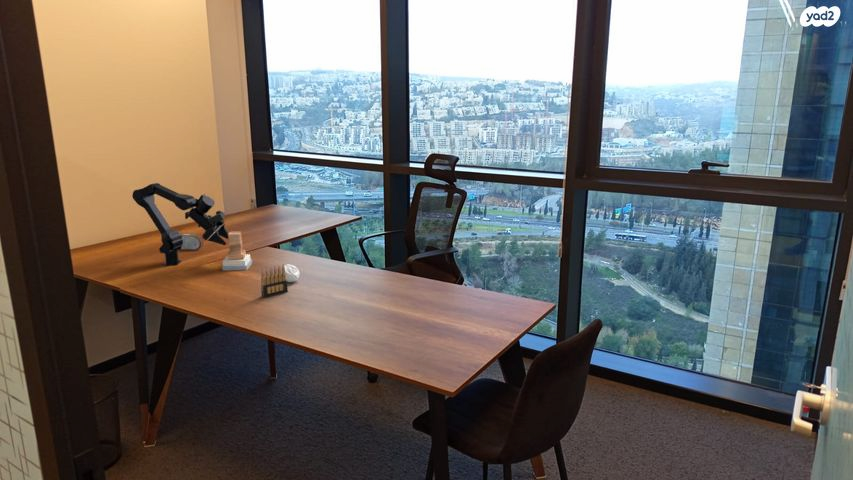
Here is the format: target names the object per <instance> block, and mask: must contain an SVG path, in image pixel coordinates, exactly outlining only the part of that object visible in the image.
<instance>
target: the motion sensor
mask: <svg viewBox="0 0 853 480" xmlns="http://www.w3.org/2000/svg"><path fill="white" fill-rule="evenodd" d="M284 267H285V273H286V280H287V283H293V282H296V281H298V279H299V277H300V274H301V273H300V271H299V269H298V267H296V266H295V265H293V264H285V265H284ZM281 274H282V269H281Z"/></svg>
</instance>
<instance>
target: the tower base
mask: <svg viewBox="0 0 853 480" xmlns="http://www.w3.org/2000/svg"><path fill="white" fill-rule="evenodd" d="M252 264H253V259H252V258H250V261H249V262H248V263H247V264H246V265H245V266H223V265H222V267H221V269H222V271H247V270H248V269H249V268H250V267H251V265H252Z"/></svg>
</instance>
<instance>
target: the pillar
mask: <svg viewBox="0 0 853 480" xmlns="http://www.w3.org/2000/svg"><path fill="white" fill-rule="evenodd" d="M227 240H228V246H229V248H228V249H229V252H228V253H227V256H226V257H228V260H244V258H245V256H246V250H245V249H243V238H242V230H241V231H240V230H239V231H235V230H234V231H229V232H228V239H227Z"/></svg>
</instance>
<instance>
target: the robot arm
mask: <svg viewBox="0 0 853 480" xmlns="http://www.w3.org/2000/svg"><path fill="white" fill-rule="evenodd" d="M155 195H157V196H159V197H162V198H163V199H165V200H167V201H170V202H172V203H173V204H174V205H175V207H177V208H178V209H180V210H181V211H186V212H185V213H184V215H185V216H184V217H185V220H188V219H189V218H190V219H191V220H192V221H193V222H195V223H196V224H197V227H198V228H202V229H203V230H204V232H203V234H202V235H201V236H202V237H201V238H202V240H203V241H207V242H213V243H215V244H220V245H223V246H226V245H227V242H226V241H225V240H224V238H225V239H227V240H229V239H228V234H229V232H228V230H227V229H226V221H225V219H226V218H227V217H226V216H225V215H226V213H225V212H223V211H222V210H218V211H216V212H215V214H214V215H211V214H208V215H207V213H208V212H210V210H211V209H212V208H213V207H214V206H215V200H214V199H213V198H211V197H210V196H209V195H208V196H207V195H206V194H200V196H199V198H195V197H194V196H193V195H190V194H185V193H179V192H178V191H174V190H173V189H171V188H168V187H166V186H163V185H162V184H160V183H158V182H155V183H150V184H148V185H147V186H144V187H141V188H138V189H135V190H133V192H132V195H131V196H132V199H133V200H134V202H135V203H136V204H137V205H138V206H140V207H141V208H143V209H144V210H145V211H146V213H147V215H148V216H149V218H150V219H151V221H152V222H153V224H154V225H155V228H157V230H158V231H159V233H160V235H161V238H160V239H161V240H160V241H161V243H162V244H161V246H160V247H159V249H158V250H159V252H160V254H164V258H165V259H164V260H165V262H164V263H163V264H162V265H163V266H178V265H179V264H180V263H182V260H181V259H179V252H178V251H179V250H180V249H181V247H182V244H183V239H182V236H181V235H180V233H181V232H179V230H178V229H176V230H174V229H172V228H171V226H170V225H169V224H168V222H167V220H166V218H165V217H164V215H163V214H162V213H161V211H160V209H159V208H158V207H157V205H156V204H155V202H156V201H155V199H156V198H155ZM187 210H189V211H187Z"/></svg>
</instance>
